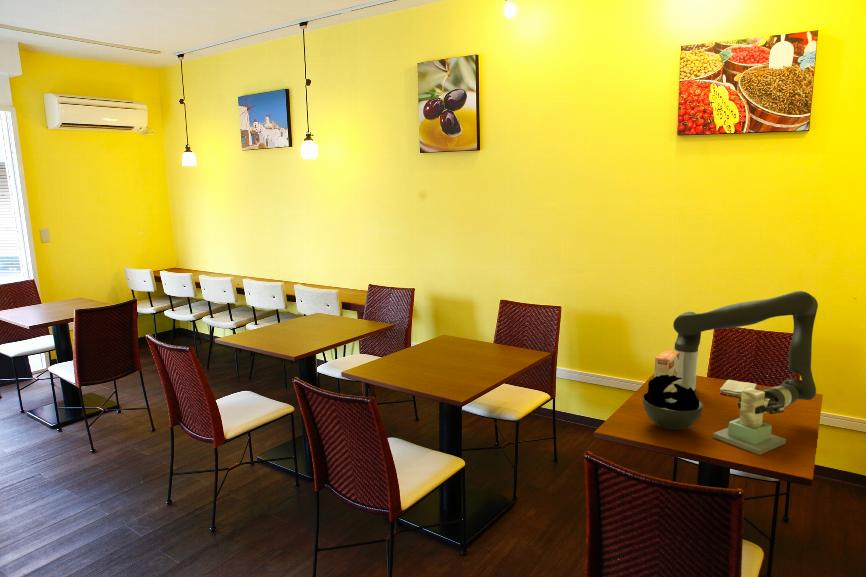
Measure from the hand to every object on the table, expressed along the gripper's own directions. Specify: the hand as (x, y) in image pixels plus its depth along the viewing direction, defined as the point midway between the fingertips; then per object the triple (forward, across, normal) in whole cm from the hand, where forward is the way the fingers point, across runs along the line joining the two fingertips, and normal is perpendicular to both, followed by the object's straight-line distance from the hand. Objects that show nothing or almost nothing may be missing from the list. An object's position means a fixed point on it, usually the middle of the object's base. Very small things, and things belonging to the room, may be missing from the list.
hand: (747, 408), depth 191 cm
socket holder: (-3, 0, +12) cm, 12 cm away
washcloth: (-47, -30, +13) cm, 57 cm away
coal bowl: (+10, -21, +12) cm, 26 cm away
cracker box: (-7, -36, +12) cm, 39 cm away
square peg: (-3, 0, +9) cm, 9 cm away
